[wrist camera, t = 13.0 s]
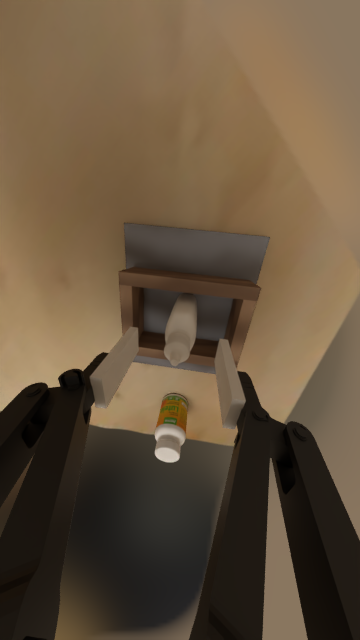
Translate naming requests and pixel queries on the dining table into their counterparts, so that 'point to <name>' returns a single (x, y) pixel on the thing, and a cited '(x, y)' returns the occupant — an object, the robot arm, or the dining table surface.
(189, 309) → the eye dropper bottle
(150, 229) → the bottle holder
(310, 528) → the robot arm
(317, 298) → the dining table surface
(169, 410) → the supplement bottle
